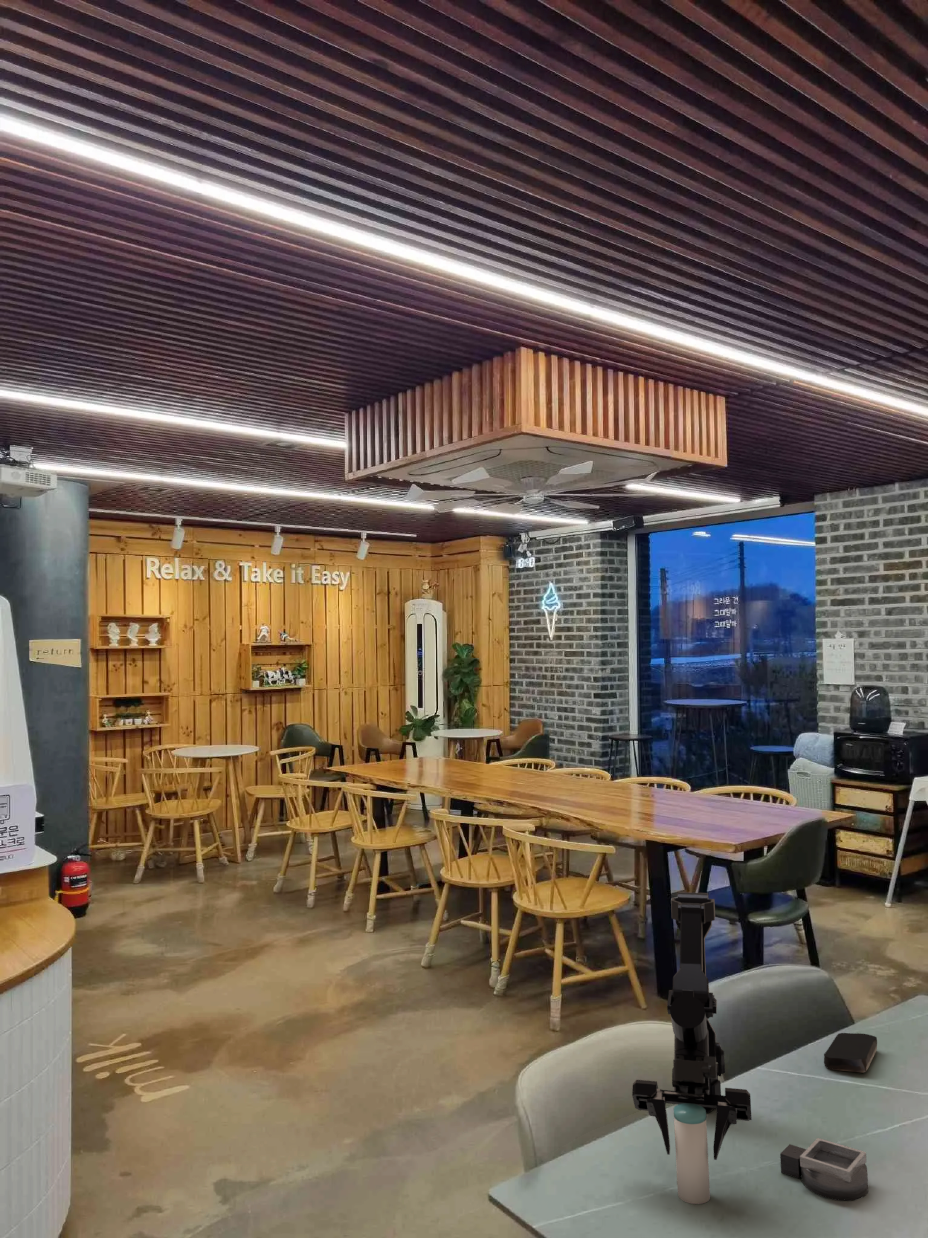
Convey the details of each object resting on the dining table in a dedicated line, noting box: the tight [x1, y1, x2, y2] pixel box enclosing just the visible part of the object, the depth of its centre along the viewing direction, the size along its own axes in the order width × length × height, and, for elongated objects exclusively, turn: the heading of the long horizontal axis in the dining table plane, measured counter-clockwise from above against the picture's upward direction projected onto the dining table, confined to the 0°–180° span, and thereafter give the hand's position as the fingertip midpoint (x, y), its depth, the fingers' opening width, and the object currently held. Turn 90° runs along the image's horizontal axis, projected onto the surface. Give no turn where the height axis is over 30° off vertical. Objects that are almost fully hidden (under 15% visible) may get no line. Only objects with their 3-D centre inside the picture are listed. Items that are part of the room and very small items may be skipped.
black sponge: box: [823, 1032, 878, 1073], centre depth 196 cm, size 16×8×4 cm, turn 147°
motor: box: [779, 1137, 869, 1202], centre depth 149 cm, size 13×10×4 cm
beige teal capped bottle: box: [673, 1103, 711, 1205], centre depth 146 cm, size 5×5×13 cm
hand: (691, 1156), depth 145 cm, fingers open, 7 cm apart
